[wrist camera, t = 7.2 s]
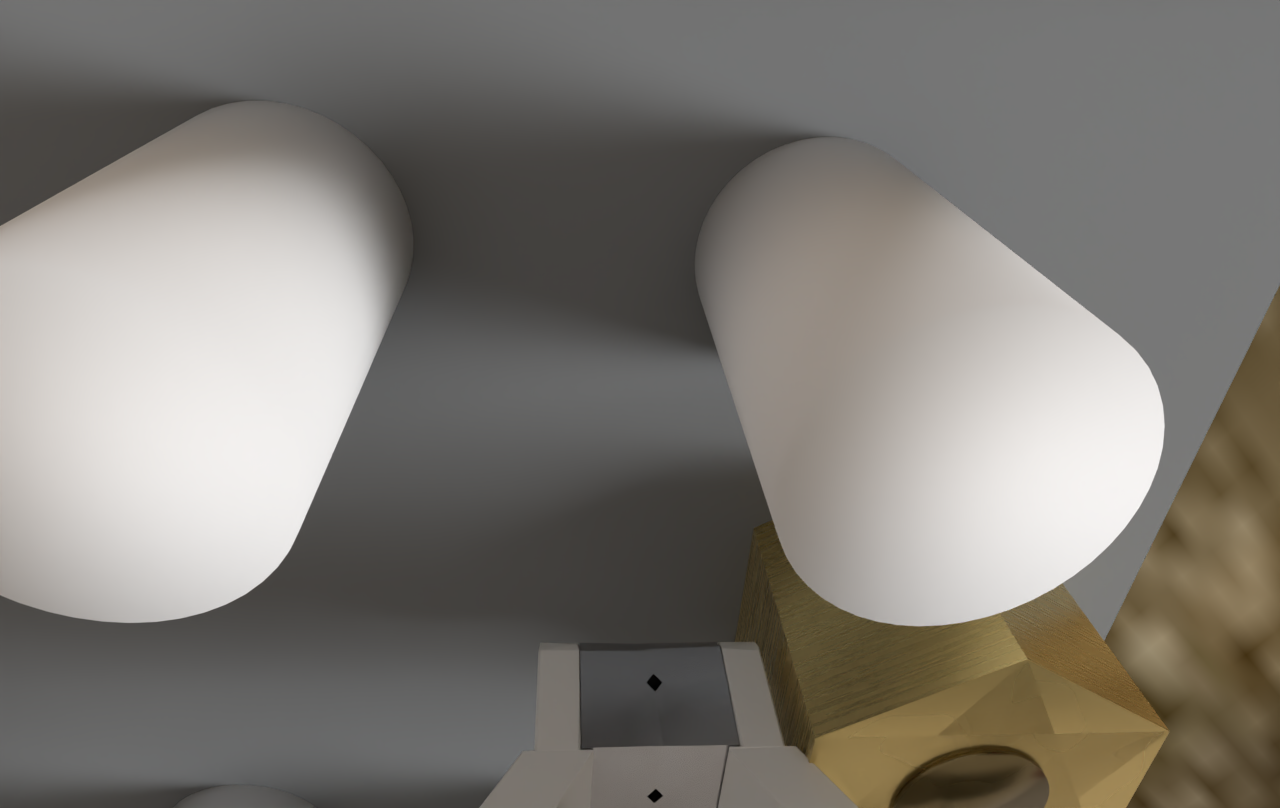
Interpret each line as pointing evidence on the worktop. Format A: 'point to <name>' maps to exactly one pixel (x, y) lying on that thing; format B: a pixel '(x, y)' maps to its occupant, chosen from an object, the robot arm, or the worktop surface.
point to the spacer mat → (576, 349)
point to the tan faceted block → (949, 699)
